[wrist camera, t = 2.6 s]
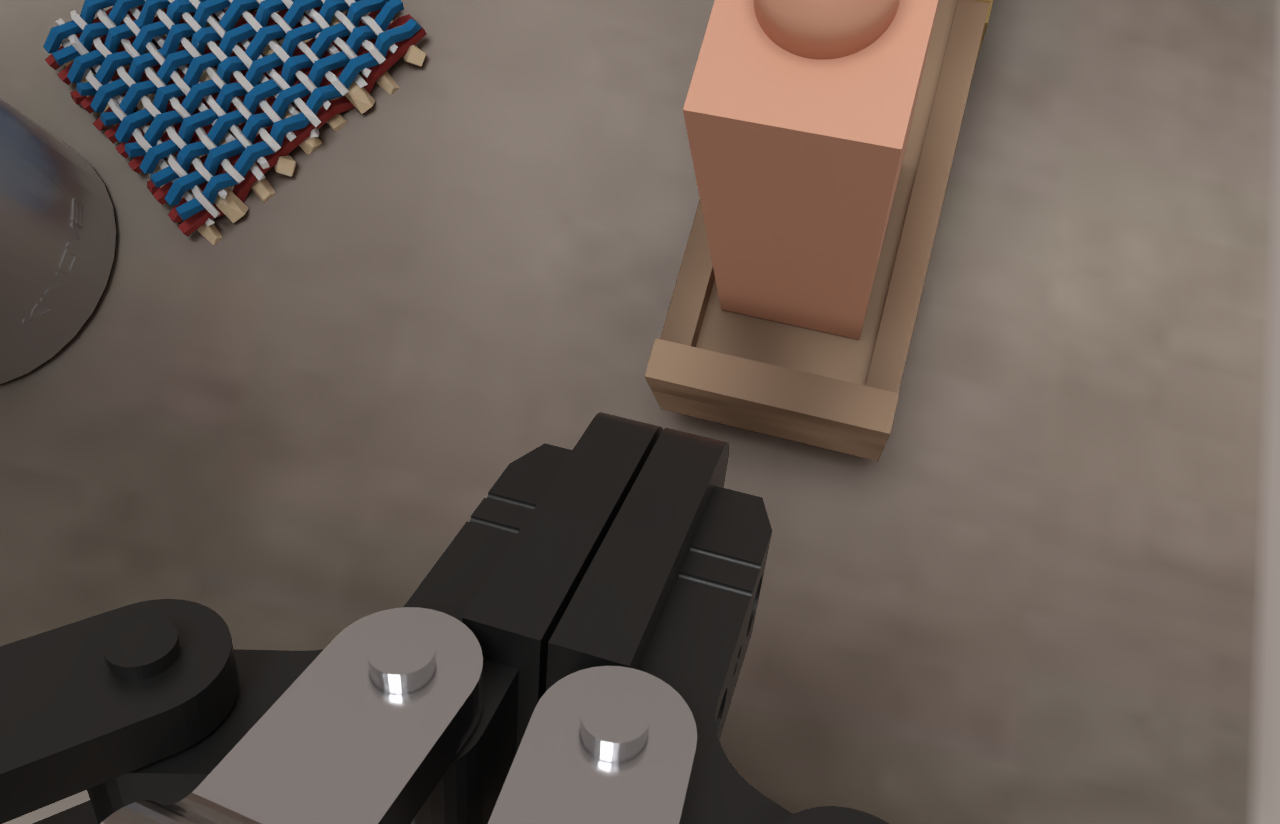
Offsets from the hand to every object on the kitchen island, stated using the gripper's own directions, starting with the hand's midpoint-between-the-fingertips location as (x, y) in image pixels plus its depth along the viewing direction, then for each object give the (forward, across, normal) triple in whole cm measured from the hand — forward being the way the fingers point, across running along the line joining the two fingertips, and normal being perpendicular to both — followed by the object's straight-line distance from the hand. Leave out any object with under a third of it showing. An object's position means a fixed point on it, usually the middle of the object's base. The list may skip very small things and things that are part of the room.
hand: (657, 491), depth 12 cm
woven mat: (+22, +21, +4) cm, 31 cm away
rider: (+16, 0, +3) cm, 16 cm away
